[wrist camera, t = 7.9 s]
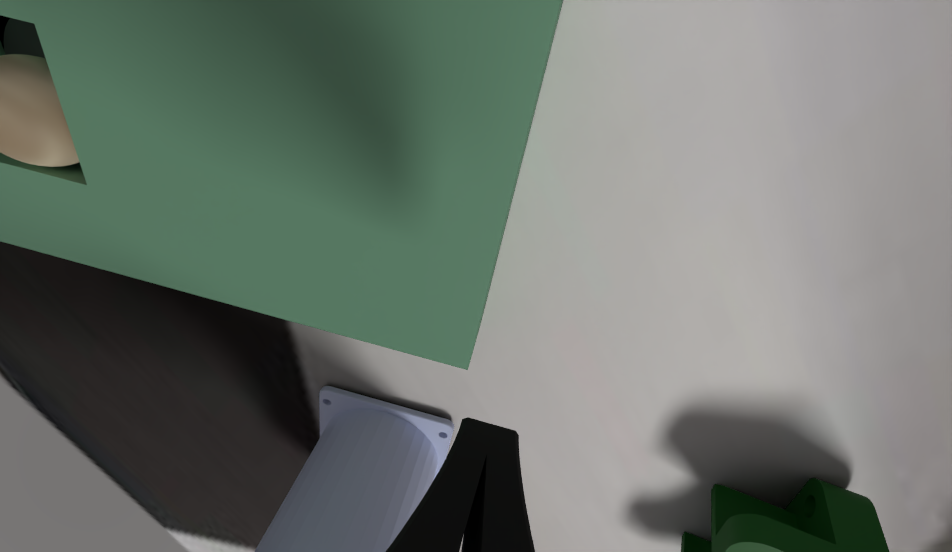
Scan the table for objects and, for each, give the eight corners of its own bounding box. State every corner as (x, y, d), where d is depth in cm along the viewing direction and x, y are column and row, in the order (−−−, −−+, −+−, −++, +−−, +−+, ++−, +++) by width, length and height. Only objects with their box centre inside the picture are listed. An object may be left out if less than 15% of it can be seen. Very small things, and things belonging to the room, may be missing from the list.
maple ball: (144, 151, 20) (66, 200, 17) (55, 119, 19) (-39, 163, 17) (118, 62, 17) (21, 103, 14) (15, 24, 17) (-106, 57, 14)
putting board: (567, -16, 13) (566, -20, 11) (479, 326, 21) (467, 369, 19) (-135, -176, 15) (-280, -212, 12) (25, 203, 22) (-44, 228, 20)
